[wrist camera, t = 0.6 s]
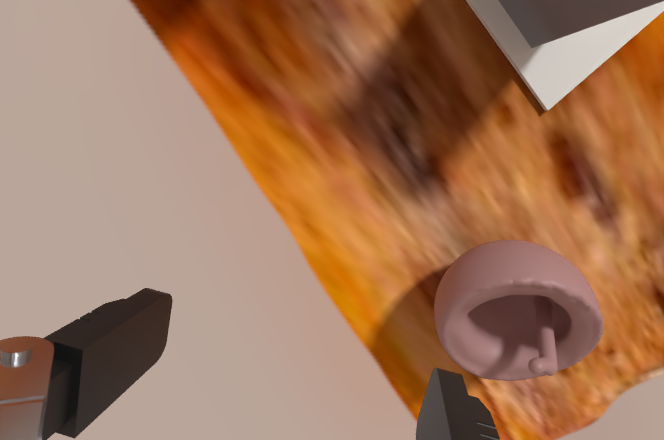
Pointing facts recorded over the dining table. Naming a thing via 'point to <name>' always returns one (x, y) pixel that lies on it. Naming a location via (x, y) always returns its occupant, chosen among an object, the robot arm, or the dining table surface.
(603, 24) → the mat
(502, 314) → the mortar and pestle
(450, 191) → the dining table surface
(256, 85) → the dining table surface
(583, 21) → the tile
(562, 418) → the dining table surface
